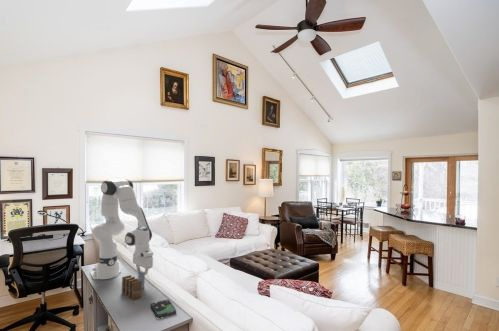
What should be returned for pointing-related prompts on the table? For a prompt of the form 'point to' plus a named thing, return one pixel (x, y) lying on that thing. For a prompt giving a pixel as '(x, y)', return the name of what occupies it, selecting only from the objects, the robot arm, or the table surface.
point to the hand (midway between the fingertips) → (142, 272)
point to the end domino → (141, 277)
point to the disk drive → (163, 308)
